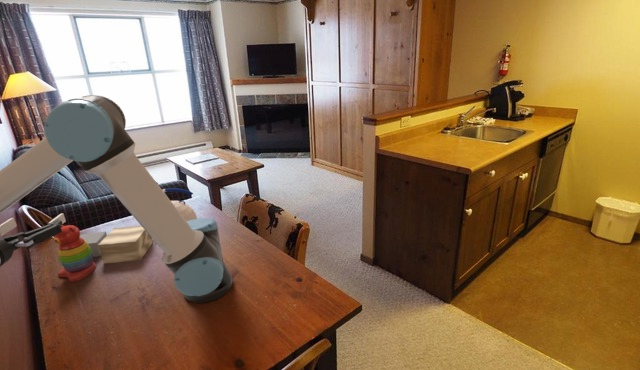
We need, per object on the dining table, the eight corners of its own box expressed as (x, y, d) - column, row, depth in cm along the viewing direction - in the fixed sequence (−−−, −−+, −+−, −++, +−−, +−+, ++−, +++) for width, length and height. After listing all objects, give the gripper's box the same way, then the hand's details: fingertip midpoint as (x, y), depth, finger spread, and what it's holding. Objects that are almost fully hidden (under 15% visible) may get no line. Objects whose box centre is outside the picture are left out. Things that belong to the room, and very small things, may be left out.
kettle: (148, 223, 155) (139, 186, 148) (196, 213, 163) (189, 177, 156) (148, 242, 138) (137, 202, 131) (201, 230, 145) (193, 191, 139)
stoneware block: (100, 256, 129) (96, 242, 127) (74, 259, 128) (70, 246, 126) (109, 244, 138) (105, 231, 136) (85, 247, 136) (81, 234, 134)
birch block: (140, 260, 126) (135, 241, 123) (104, 264, 124) (97, 245, 122) (152, 242, 138) (148, 225, 135) (119, 245, 136) (114, 228, 134)
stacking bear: (56, 275, 118) (39, 230, 112) (86, 260, 127) (71, 217, 120) (73, 283, 113) (56, 236, 107) (103, 267, 122) (89, 223, 115)
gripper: (-67, 277, 82) (-3, 235, 102) (45, 264, 85) (86, 226, 105) (-81, 250, 80) (-12, 212, 99) (35, 238, 83) (79, 204, 102)
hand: (39, 219), depth 102 cm, fingers open, 13 cm apart
